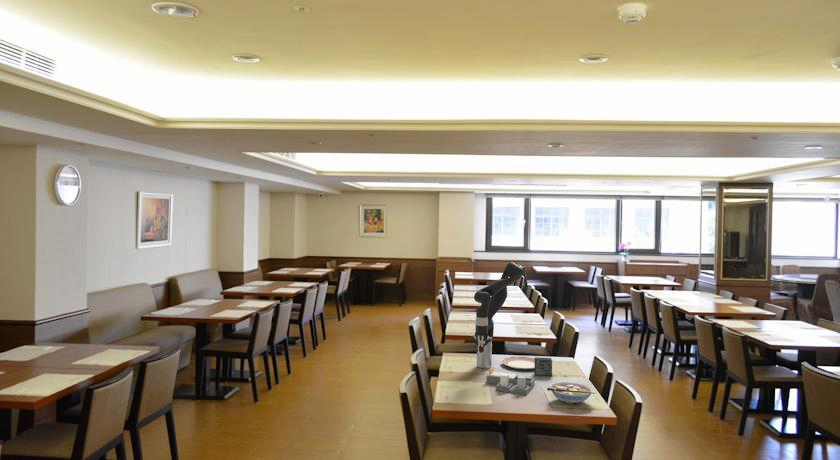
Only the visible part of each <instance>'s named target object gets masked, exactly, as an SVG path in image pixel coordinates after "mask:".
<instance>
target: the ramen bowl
mask: <svg viewBox="0 0 840 460" xmlns="http://www.w3.org/2000/svg"><path fill="white" fill-rule="evenodd" d="M546 389H547V390H546V391H551V393H552V394H553V396H554V397H555V398H556V399H558V400H560V401H561V402H564V403H566V402H567V403H566V404H569V403H576V404H578V403H582V402H584V401H586V400H587V399H588V398H589V397H590V396H591V395H592V394H593V395H594V394H597V393H596V392H593V391H594V390H593V389H592V388H591V387H590V386H587V384H586V385H585V384H583V383H577V382H570V381H558V382H554V383H550V384H549V387H547V388H546Z"/></svg>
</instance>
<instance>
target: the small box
mask: <svg viewBox="0 0 840 460" xmlns="http://www.w3.org/2000/svg"><path fill="white" fill-rule="evenodd" d="M534 358H535V369H533V370H534V371H533V373H534V376H535V377H536V376H538V377H552V376H553V359H552V358H551V357H538V356H535V357H534Z"/></svg>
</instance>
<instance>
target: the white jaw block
mask: <svg viewBox="0 0 840 460" xmlns="http://www.w3.org/2000/svg"><path fill="white" fill-rule="evenodd" d="M503 373H504V372H502V374H501V375H500V386H505V387H509V374H503Z"/></svg>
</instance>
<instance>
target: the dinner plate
mask: <svg viewBox="0 0 840 460" xmlns="http://www.w3.org/2000/svg"><path fill="white" fill-rule="evenodd" d="M501 363H502V364H503V365H505V366H507V367H509V368H511V369H514V370H515V369H516V370H520V371H523V370H525V371H526V370H527V371H529V370H534V369H535V357H529V356H520V355H519V356H508V357H505V358H502V359H501Z"/></svg>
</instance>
